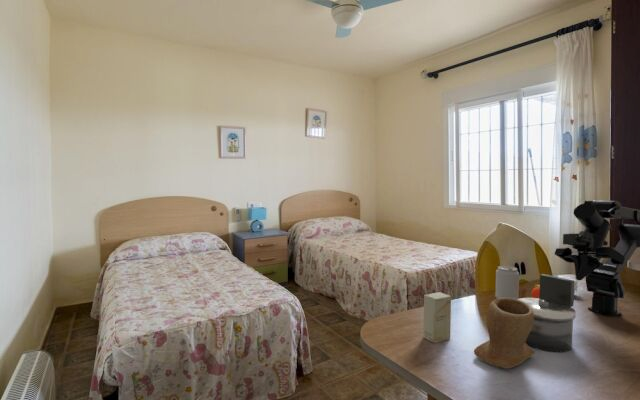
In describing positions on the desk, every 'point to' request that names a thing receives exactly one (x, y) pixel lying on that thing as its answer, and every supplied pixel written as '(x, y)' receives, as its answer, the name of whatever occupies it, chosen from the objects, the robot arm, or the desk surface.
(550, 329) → the pot
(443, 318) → the skincare box
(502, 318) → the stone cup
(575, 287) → the elephant figurine
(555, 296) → the lid
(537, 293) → the clementine
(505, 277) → the can
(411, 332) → the desk surface
